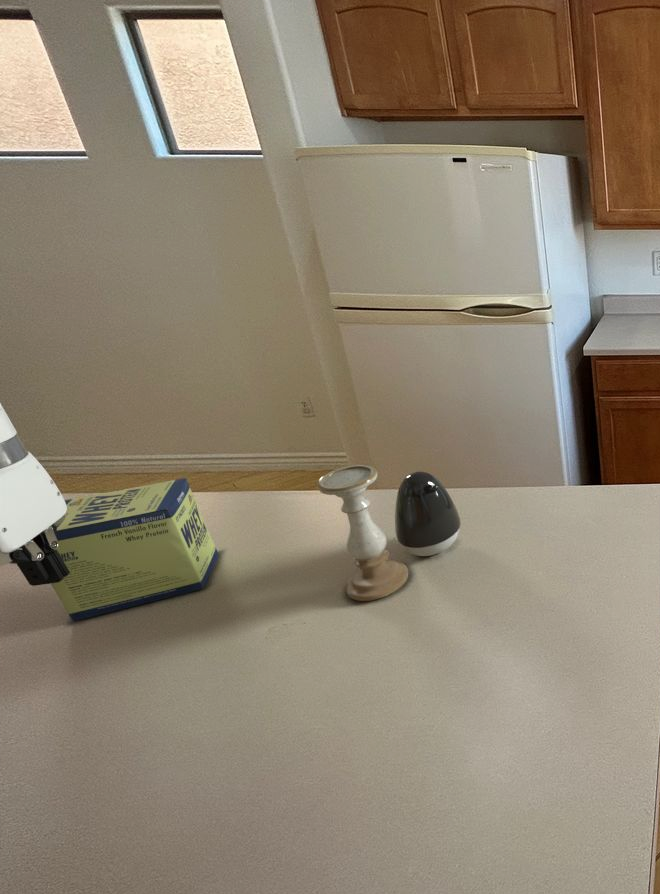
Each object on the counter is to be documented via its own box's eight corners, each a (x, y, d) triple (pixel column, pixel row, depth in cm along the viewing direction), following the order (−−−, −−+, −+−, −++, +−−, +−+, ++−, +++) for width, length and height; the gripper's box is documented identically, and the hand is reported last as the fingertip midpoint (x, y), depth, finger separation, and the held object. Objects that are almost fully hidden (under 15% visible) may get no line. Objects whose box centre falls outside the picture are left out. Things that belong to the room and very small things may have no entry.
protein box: (206, 588, 89) (169, 507, 83) (71, 623, 82) (18, 537, 76) (221, 552, 97) (188, 476, 91) (99, 581, 90) (54, 501, 84)
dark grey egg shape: (424, 572, 93) (404, 496, 87) (389, 551, 98) (368, 478, 92) (476, 541, 101) (462, 469, 95) (442, 523, 106) (426, 453, 100)
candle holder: (338, 605, 86) (300, 494, 78) (360, 568, 94) (327, 464, 86) (399, 598, 88) (368, 489, 79) (415, 562, 95) (389, 460, 87)
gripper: (-9, 434, 71) (59, 550, 78) (-136, 495, 58) (-40, 627, 65) (65, 427, 73) (124, 541, 80) (-42, 485, 60) (41, 614, 67)
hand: (51, 579), depth 73 cm, fingers closed
